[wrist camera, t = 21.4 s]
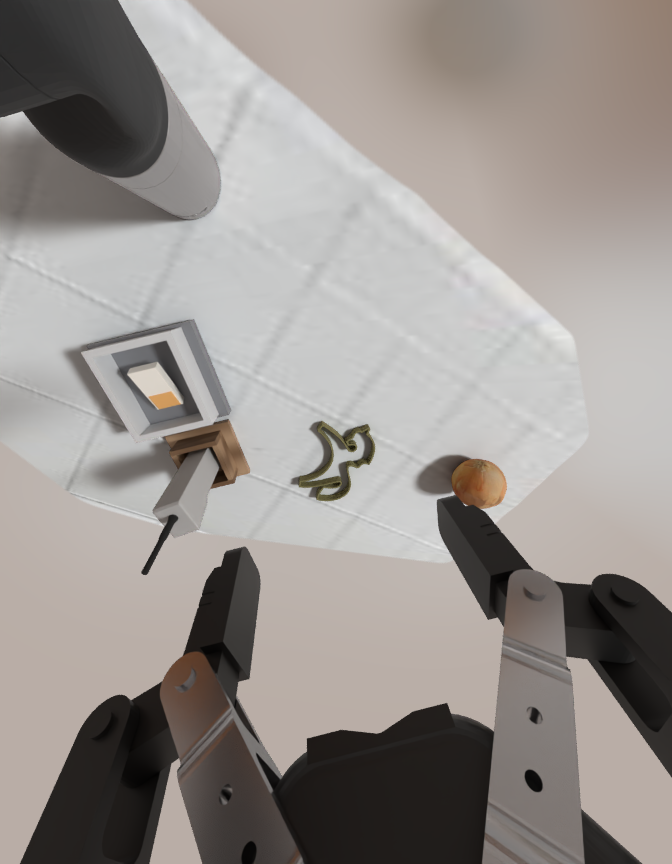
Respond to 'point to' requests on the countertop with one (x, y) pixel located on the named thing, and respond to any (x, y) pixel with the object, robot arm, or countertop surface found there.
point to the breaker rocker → (156, 385)
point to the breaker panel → (181, 362)
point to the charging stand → (222, 444)
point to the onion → (479, 483)
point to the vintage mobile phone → (185, 497)
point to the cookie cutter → (333, 481)
